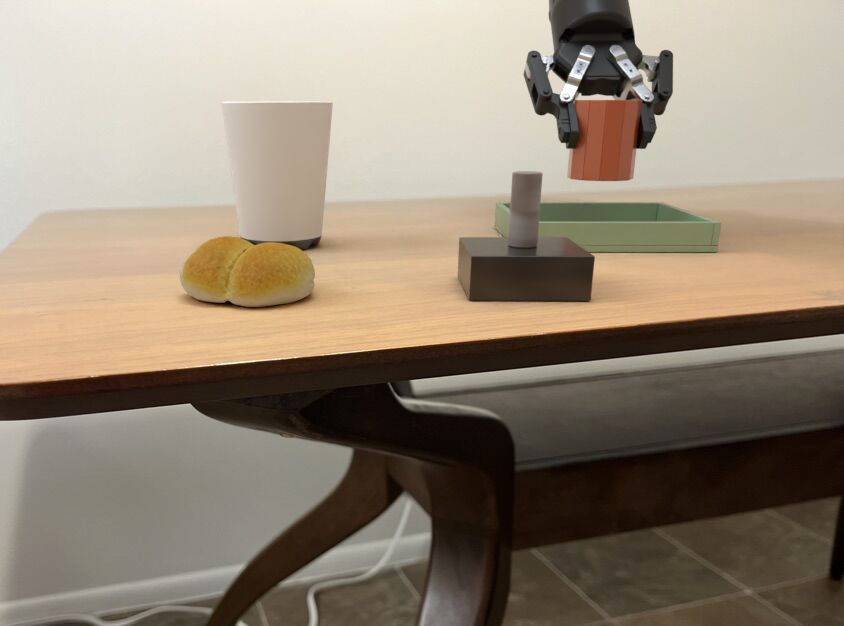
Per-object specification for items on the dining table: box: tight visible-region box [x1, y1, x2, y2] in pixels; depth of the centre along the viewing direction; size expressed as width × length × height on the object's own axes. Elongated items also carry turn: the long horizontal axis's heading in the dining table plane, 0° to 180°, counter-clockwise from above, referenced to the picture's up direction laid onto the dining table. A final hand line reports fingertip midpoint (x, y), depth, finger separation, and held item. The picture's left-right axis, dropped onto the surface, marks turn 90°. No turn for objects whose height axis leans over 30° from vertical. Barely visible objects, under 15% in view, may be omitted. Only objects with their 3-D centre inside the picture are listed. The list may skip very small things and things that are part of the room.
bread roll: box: [179, 235, 316, 308], centre depth 56 cm, size 8×9×4 cm
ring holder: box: [457, 170, 596, 302], centre depth 56 cm, size 8×8×8 cm
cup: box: [221, 100, 334, 251], centre depth 74 cm, size 10×10×13 cm
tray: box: [494, 201, 722, 253], centre depth 78 cm, size 17×15×3 cm
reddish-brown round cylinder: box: [566, 99, 642, 182], centre depth 76 cm, size 6×6×7 cm
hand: (608, 142), depth 74 cm, fingers closed on reddish-brown round cylinder, 6 cm apart
